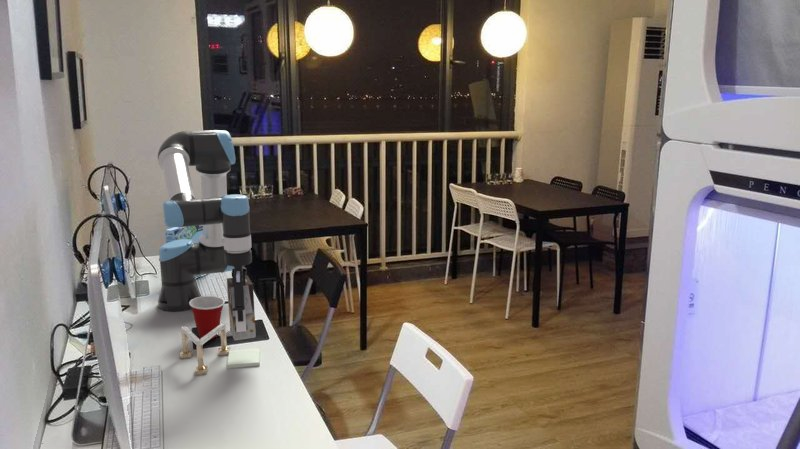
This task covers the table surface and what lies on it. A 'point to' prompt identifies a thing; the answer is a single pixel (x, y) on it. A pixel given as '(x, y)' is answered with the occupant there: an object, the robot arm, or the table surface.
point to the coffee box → (249, 310)
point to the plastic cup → (207, 313)
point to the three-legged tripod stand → (199, 342)
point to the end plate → (244, 358)
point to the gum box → (184, 234)
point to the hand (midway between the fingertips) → (242, 324)
